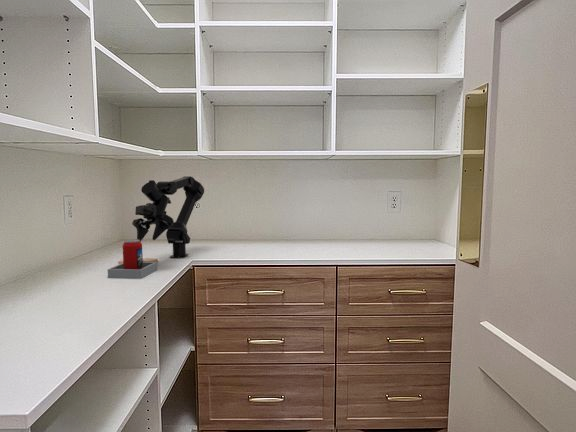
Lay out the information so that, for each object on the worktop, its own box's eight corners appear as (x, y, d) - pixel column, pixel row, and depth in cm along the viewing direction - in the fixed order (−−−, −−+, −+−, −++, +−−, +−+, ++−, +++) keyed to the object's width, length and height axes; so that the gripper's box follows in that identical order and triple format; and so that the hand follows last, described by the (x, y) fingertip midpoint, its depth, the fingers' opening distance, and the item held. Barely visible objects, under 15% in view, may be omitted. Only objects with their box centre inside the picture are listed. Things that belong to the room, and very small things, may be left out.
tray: (126, 269, 146) (126, 261, 145) (157, 270, 144) (156, 262, 144) (107, 277, 133) (107, 269, 133) (141, 278, 132) (140, 270, 132)
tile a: (123, 260, 161) (123, 258, 160) (137, 260, 161) (137, 258, 161) (118, 264, 155) (118, 261, 154) (133, 263, 155) (133, 261, 155)
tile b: (146, 260, 162) (146, 257, 162) (157, 261, 160) (157, 258, 160) (136, 263, 156) (136, 260, 156) (148, 264, 154) (147, 261, 154)
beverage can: (145, 272, 138) (143, 240, 137) (125, 275, 134) (124, 242, 133) (140, 268, 144) (139, 238, 142) (122, 271, 140) (120, 240, 139)
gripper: (128, 200, 152) (114, 234, 145) (159, 193, 143) (145, 228, 135) (149, 214, 160) (136, 246, 153) (179, 207, 151) (167, 242, 143)
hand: (145, 240), depth 146 cm, fingers open, 9 cm apart
